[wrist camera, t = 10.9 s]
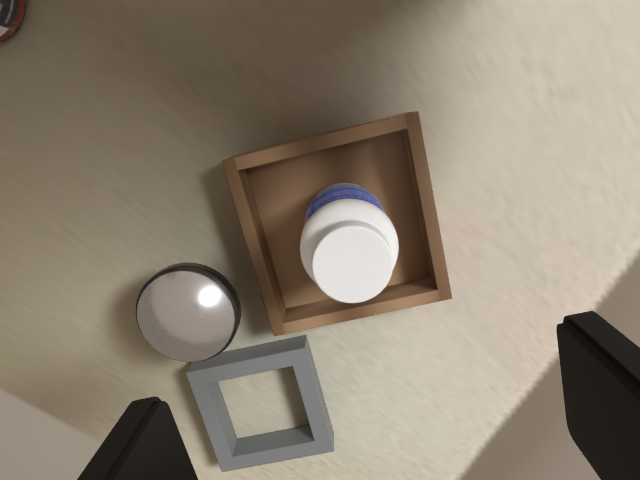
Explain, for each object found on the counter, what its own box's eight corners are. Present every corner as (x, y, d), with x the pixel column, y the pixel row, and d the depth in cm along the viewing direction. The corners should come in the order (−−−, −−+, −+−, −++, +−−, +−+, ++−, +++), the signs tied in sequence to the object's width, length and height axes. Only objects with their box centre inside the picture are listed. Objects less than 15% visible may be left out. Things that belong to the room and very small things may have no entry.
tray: (409, 112, 30) (418, 111, 27) (441, 281, 33) (452, 298, 30) (232, 156, 31) (221, 160, 28) (279, 316, 34) (274, 336, 31)
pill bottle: (295, 195, 31) (278, 230, 21) (371, 170, 30) (388, 194, 21) (320, 267, 32) (315, 330, 22) (393, 245, 31) (420, 299, 22)
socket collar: (306, 334, 34) (304, 348, 32) (333, 433, 36) (333, 451, 34) (193, 358, 35) (185, 372, 33) (227, 453, 37) (221, 472, 35)
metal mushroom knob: (238, 235, 32) (219, 259, 27) (262, 315, 34) (249, 353, 28) (154, 254, 33) (118, 282, 27) (182, 332, 34) (153, 373, 29)
